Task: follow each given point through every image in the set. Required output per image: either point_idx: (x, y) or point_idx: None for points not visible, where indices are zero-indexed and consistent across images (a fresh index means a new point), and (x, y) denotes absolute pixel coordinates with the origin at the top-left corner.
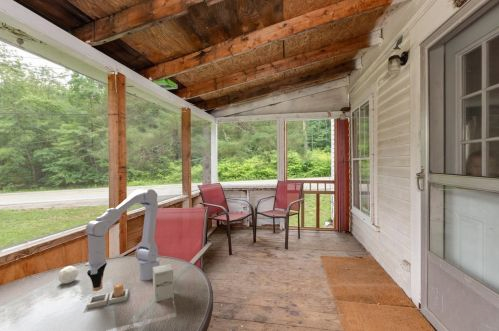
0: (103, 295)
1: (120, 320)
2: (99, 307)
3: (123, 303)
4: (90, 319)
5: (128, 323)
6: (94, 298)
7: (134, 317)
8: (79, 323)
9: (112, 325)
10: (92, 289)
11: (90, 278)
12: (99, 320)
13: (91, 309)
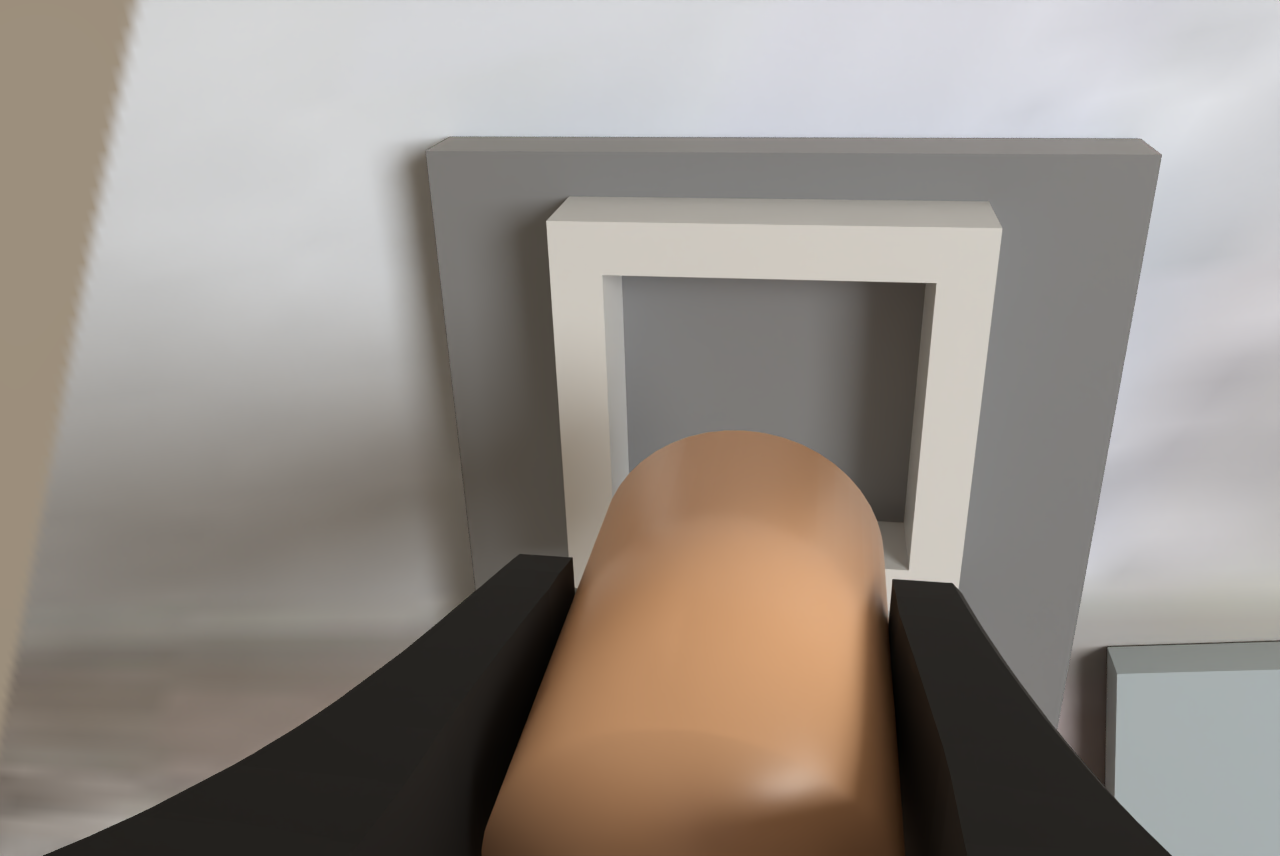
0: (912, 509)
1: (143, 694)
2: (522, 432)
3: None
4: (284, 290)
5: (56, 770)
6: (925, 312)
7: None
8: (205, 118)
9: (47, 607)
10: (703, 446)
11: (213, 777)
12: (214, 435)
13: (499, 294)
